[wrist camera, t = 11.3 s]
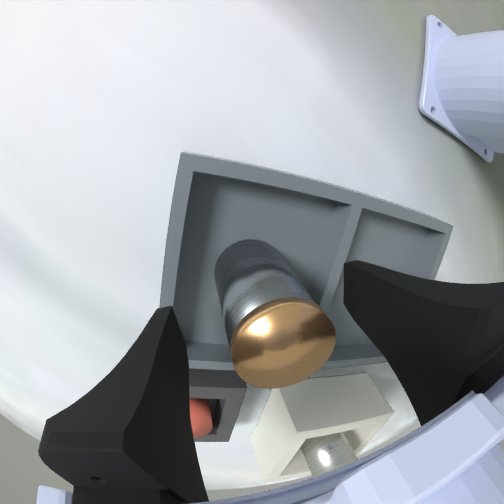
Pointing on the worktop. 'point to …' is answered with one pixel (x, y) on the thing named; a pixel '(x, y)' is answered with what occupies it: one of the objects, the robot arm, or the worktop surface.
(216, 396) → the box
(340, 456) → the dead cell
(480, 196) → the worktop surface
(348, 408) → the cup
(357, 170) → the worktop surface
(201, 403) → the tester button
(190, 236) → the tray
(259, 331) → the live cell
